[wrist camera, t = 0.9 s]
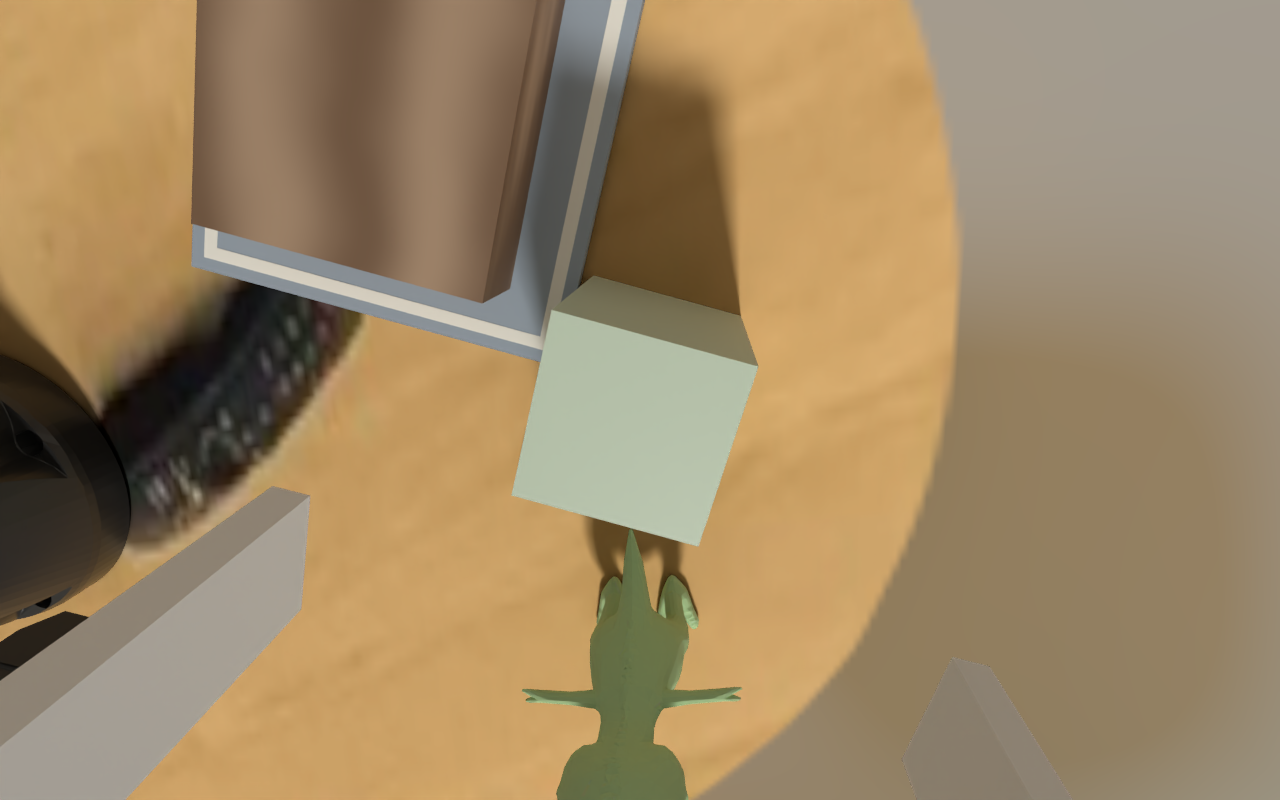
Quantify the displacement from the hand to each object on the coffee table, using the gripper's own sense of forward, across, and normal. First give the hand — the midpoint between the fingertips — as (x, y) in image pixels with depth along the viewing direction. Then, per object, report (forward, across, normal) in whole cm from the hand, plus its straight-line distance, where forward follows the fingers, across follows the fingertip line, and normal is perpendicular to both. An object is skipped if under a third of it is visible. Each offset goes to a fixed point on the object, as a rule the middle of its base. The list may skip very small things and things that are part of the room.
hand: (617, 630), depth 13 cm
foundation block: (+18, -14, +8) cm, 24 cm away
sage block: (+19, -1, 0) cm, 19 cm away
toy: (+19, +2, -12) cm, 22 cm away
